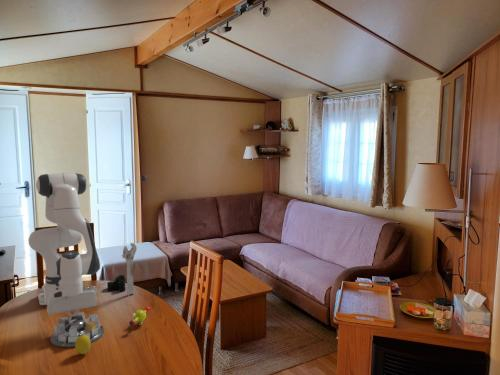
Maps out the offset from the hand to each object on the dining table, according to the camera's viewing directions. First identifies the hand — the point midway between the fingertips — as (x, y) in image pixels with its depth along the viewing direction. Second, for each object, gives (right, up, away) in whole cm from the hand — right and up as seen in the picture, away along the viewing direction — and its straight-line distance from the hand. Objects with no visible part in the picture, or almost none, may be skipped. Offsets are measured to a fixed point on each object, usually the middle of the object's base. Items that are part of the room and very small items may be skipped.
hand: (73, 319), depth 173 cm
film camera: (+3, -1, +49) cm, 49 cm away
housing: (+4, -5, -5) cm, 8 cm away
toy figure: (+28, -5, +6) cm, 29 cm away
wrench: (+13, -2, +39) cm, 41 cm away
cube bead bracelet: (+4, -4, -5) cm, 8 cm away
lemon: (+13, -7, -21) cm, 25 cm away
